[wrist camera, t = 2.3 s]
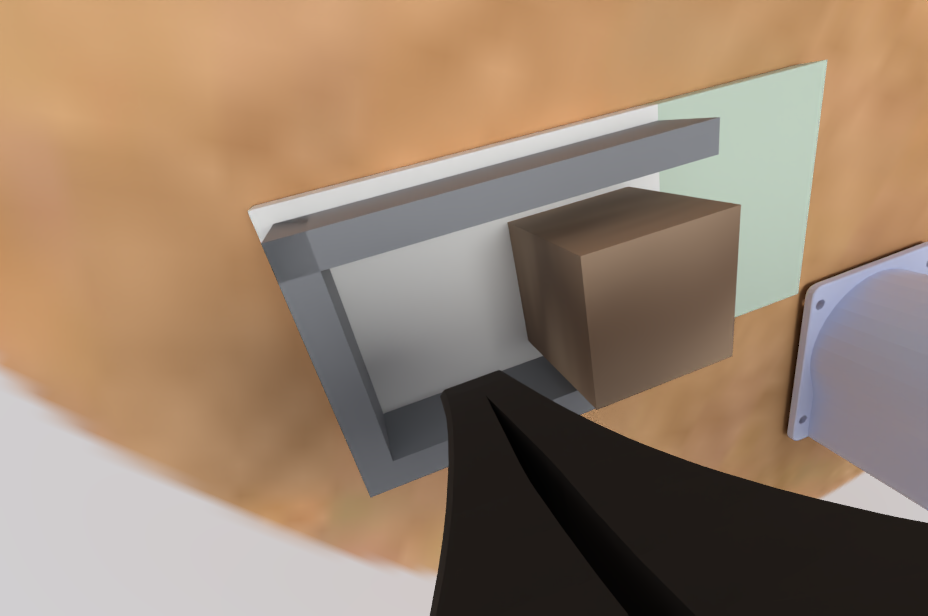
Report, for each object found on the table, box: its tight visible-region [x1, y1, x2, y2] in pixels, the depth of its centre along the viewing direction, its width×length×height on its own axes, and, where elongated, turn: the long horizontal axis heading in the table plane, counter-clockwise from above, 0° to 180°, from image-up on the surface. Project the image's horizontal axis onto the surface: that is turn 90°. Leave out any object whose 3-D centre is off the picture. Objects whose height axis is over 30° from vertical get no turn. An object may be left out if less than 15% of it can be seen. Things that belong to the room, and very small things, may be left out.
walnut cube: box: [507, 187, 741, 410], centre depth 13 cm, size 4×4×4 cm
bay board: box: [248, 60, 827, 497], centre depth 15 cm, size 9×20×4 cm, turn 103°
